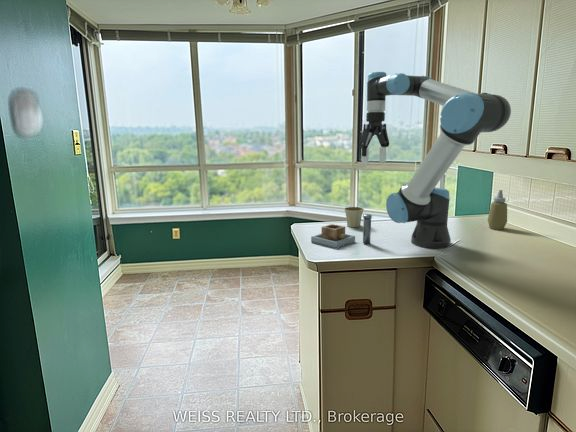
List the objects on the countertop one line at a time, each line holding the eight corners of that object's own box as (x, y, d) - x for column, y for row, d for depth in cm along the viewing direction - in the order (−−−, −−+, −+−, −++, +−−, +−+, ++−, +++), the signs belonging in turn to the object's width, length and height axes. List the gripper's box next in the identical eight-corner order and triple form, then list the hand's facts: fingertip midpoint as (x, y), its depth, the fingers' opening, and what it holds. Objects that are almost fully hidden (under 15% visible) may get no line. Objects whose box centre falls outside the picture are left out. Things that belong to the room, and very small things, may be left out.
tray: (355, 241, 162) (355, 235, 162) (336, 248, 153) (336, 242, 152) (330, 236, 171) (330, 230, 170) (311, 242, 162) (311, 236, 161)
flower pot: (344, 228, 184) (345, 210, 182) (342, 223, 193) (343, 206, 191) (364, 228, 183) (365, 210, 181) (361, 223, 193) (362, 206, 191)
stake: (372, 243, 159) (373, 215, 157) (367, 245, 157) (368, 216, 154) (365, 241, 162) (366, 213, 159) (360, 243, 159) (361, 215, 157)
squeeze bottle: (483, 228, 181) (487, 190, 177) (490, 225, 186) (494, 188, 182) (502, 231, 175) (506, 192, 171) (509, 228, 180) (513, 190, 176)
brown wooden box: (348, 241, 161) (348, 227, 159) (338, 244, 156) (338, 230, 155) (331, 237, 167) (332, 223, 165) (321, 240, 162) (321, 227, 160)
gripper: (383, 112, 172) (381, 160, 177) (350, 111, 155) (349, 164, 159) (398, 112, 167) (396, 161, 172) (366, 110, 150) (365, 165, 154)
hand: (373, 163), depth 166 cm, fingers open, 13 cm apart
